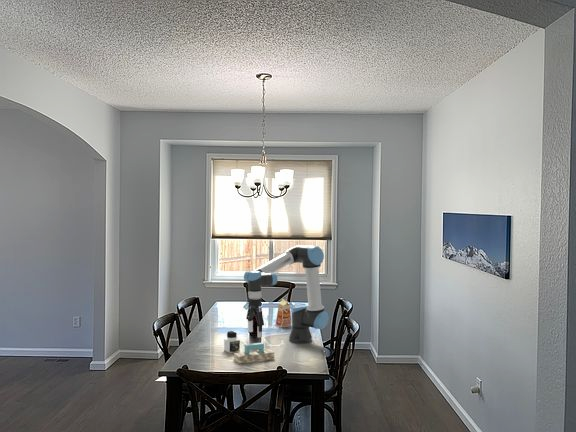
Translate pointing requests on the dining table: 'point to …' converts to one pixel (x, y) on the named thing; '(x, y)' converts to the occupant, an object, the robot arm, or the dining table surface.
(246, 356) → the cream toy brick
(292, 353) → the dining table surface
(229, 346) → the medicine bottle
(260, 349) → the teal arch block
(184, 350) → the dining table surface
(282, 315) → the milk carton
